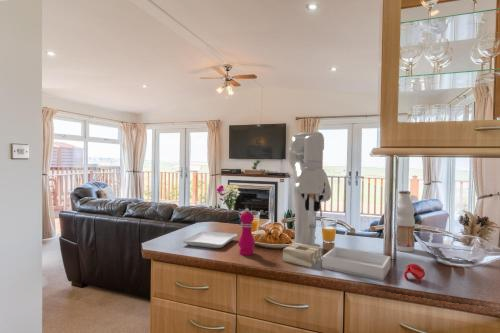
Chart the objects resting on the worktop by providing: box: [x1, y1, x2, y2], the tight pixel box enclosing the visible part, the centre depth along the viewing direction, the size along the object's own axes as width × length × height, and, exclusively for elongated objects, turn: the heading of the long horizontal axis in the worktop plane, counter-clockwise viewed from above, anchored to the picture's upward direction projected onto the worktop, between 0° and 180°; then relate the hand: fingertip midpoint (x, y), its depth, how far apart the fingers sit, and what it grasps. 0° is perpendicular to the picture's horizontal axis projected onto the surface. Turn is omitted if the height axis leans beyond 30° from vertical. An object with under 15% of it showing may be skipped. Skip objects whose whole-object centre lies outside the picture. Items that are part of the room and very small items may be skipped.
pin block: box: [282, 243, 322, 268], centre depth 126 cm, size 12×12×5 cm
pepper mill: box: [238, 208, 256, 256], centre depth 134 cm, size 7×7×20 cm
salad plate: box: [181, 231, 238, 249], centre depth 151 cm, size 21×21×3 cm
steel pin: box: [307, 193, 317, 229], centre depth 124 cm, size 5×5×15 cm
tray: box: [321, 246, 392, 282], centre depth 118 cm, size 16×22×4 cm
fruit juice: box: [396, 190, 416, 253], centre depth 145 cm, size 9×9×28 cm
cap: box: [403, 263, 426, 284], centre depth 106 cm, size 8×6×6 cm
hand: (312, 210), depth 124 cm, fingers closed on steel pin, 3 cm apart
